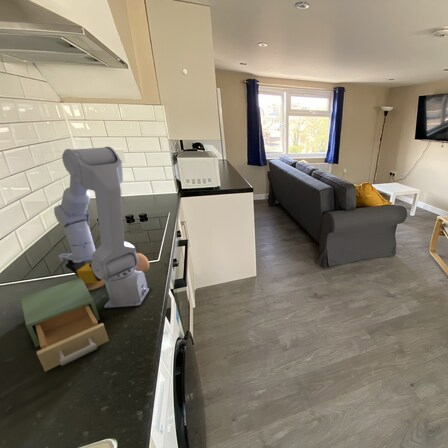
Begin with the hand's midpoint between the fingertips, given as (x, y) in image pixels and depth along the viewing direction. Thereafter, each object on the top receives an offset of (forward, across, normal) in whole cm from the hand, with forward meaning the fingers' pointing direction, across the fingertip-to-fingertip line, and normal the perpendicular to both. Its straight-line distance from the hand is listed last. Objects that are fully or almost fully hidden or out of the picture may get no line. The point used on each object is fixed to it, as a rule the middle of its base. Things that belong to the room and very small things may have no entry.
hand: (92, 279), depth 85 cm
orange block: (0, 0, 0) cm, 0 cm away
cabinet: (+1, +3, -17) cm, 17 cm away
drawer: (0, +13, -26) cm, 29 cm away
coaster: (+1, 0, 0) cm, 1 cm away
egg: (+2, +12, +4) cm, 13 cm away
